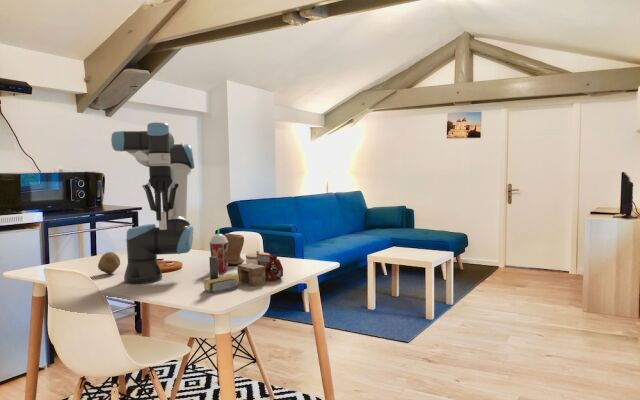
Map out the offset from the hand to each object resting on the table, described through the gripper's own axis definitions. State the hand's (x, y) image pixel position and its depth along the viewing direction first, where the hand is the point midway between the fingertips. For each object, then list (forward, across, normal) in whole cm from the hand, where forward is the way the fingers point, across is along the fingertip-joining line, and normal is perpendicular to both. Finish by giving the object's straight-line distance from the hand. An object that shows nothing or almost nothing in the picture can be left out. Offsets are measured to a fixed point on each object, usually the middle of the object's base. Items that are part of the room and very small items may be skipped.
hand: (162, 229), depth 171 cm
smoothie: (+25, +34, +20) cm, 46 cm away
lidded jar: (+25, +46, +7) cm, 53 cm away
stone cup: (+25, +47, +33) cm, 63 cm away
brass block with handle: (+23, +18, -9) cm, 31 cm away
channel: (+24, +18, -9) cm, 32 cm away
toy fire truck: (+25, +41, -9) cm, 49 cm away
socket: (+24, +32, -9) cm, 41 cm away
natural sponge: (+25, -3, +54) cm, 59 cm away
